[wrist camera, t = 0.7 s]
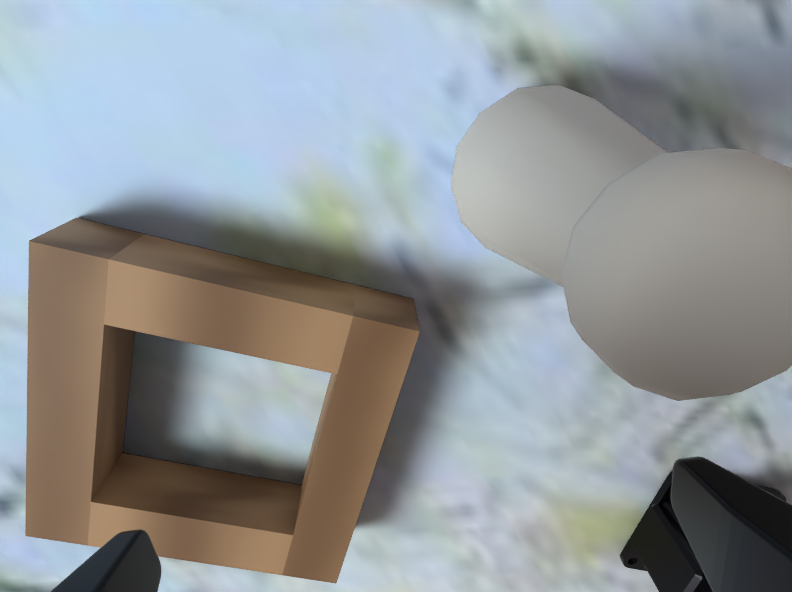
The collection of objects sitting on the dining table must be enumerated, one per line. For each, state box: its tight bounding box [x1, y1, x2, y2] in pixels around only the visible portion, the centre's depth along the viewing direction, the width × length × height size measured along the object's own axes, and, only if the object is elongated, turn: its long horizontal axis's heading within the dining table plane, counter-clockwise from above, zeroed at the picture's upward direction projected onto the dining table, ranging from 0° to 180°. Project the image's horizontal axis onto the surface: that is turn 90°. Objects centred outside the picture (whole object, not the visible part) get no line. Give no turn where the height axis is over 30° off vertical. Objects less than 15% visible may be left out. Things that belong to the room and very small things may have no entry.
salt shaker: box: [451, 85, 792, 401], centre depth 14 cm, size 6×6×13 cm
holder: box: [26, 218, 420, 583], centre depth 22 cm, size 13×13×3 cm
